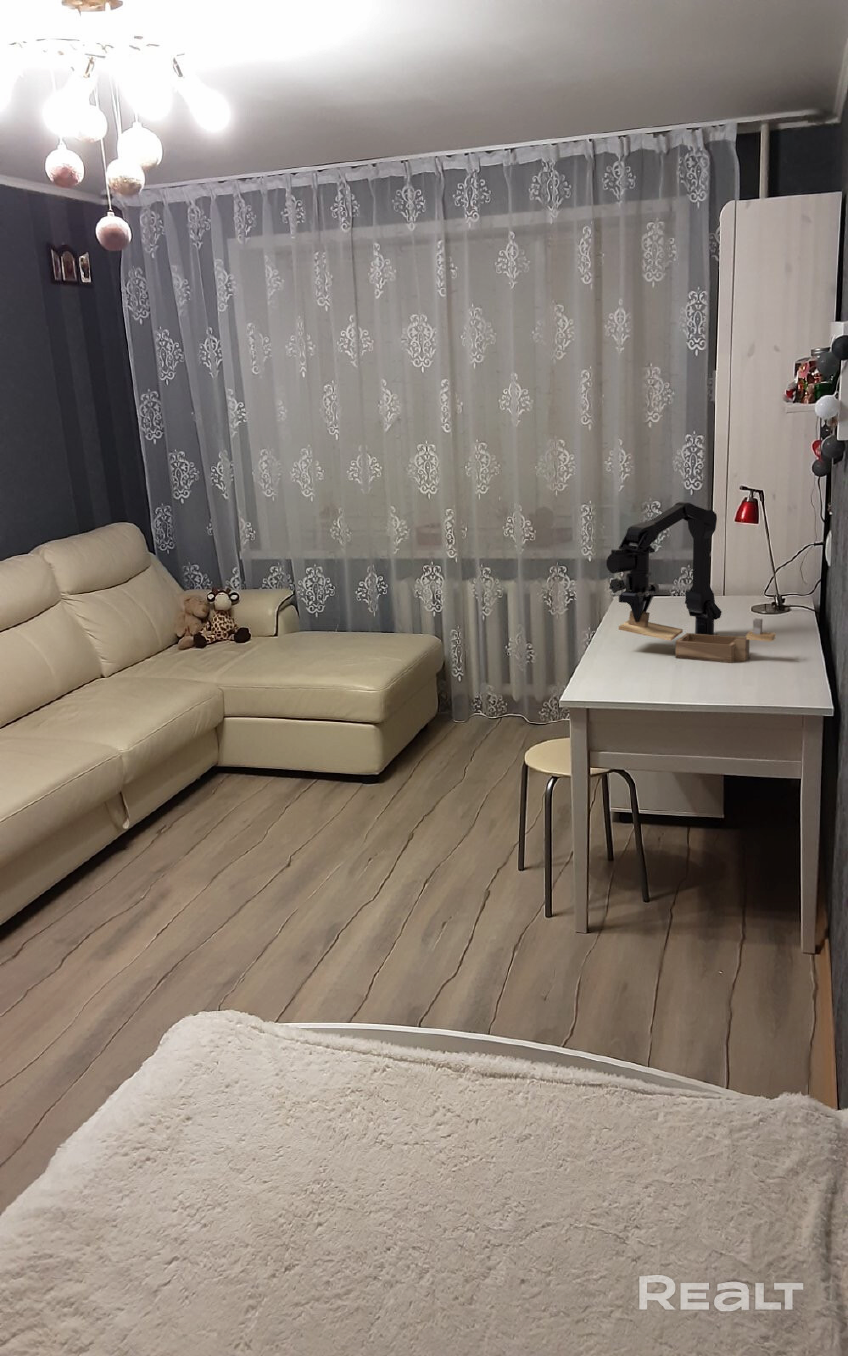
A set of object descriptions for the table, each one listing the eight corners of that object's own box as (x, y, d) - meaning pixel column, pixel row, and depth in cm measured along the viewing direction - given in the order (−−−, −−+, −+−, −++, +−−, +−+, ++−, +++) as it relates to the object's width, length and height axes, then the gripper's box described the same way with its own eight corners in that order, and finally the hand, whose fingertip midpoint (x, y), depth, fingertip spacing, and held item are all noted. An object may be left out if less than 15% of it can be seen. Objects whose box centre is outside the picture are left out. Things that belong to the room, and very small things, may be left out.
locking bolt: (749, 636, 301) (750, 617, 299) (775, 638, 297) (776, 619, 296) (746, 639, 297) (747, 620, 296) (771, 641, 294) (772, 622, 292)
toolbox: (686, 649, 315) (687, 629, 313) (751, 654, 305) (752, 634, 304) (675, 658, 306) (675, 637, 304) (741, 663, 296) (742, 643, 295)
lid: (631, 621, 321) (633, 605, 320) (682, 632, 314) (684, 616, 312) (618, 629, 312) (620, 613, 311) (670, 640, 305) (673, 624, 303)
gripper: (624, 562, 322) (624, 612, 326) (601, 573, 306) (601, 625, 311) (659, 564, 316) (659, 615, 320) (638, 575, 301) (638, 628, 305)
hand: (639, 621), depth 314 cm, fingers closed on lid, 3 cm apart
